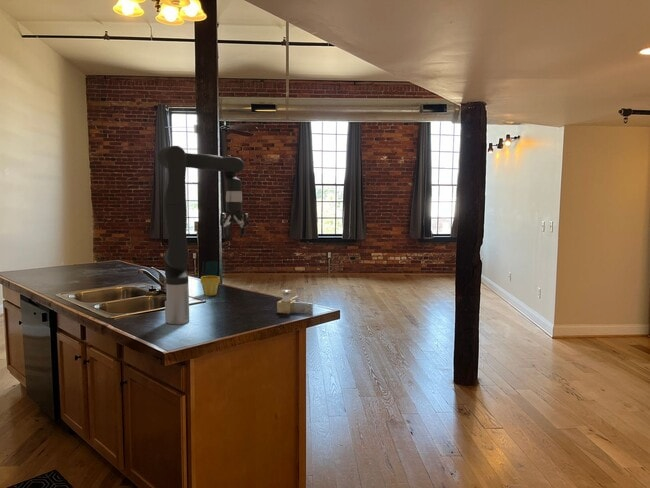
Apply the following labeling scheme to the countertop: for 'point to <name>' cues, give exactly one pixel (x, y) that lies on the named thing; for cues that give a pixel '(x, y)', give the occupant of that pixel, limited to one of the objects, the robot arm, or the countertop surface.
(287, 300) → the pin
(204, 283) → the plant pot
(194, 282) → the countertop surface
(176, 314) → the robot arm
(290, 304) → the shallow cream box
